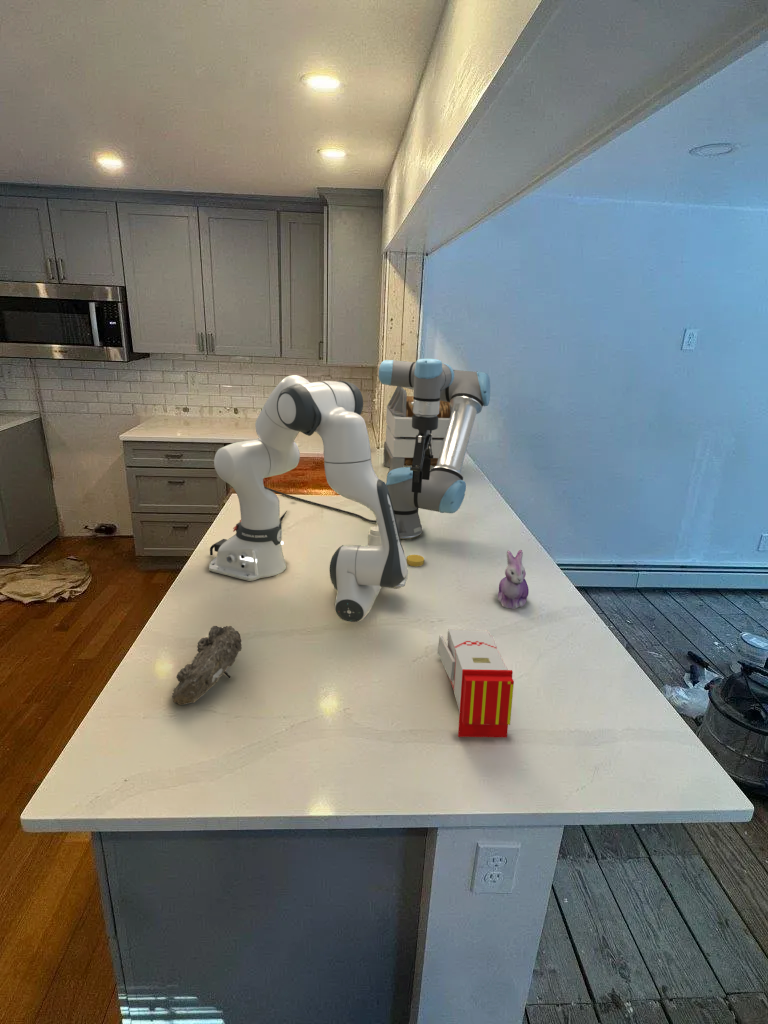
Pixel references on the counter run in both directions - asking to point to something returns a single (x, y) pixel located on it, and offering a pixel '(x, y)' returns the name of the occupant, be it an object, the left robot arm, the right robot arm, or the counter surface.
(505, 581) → the figurine
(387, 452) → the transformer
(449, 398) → the right robot arm
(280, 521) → the feather
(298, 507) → the counter surface
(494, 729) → the toy
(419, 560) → the lid
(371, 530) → the jar
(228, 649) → the fossil
